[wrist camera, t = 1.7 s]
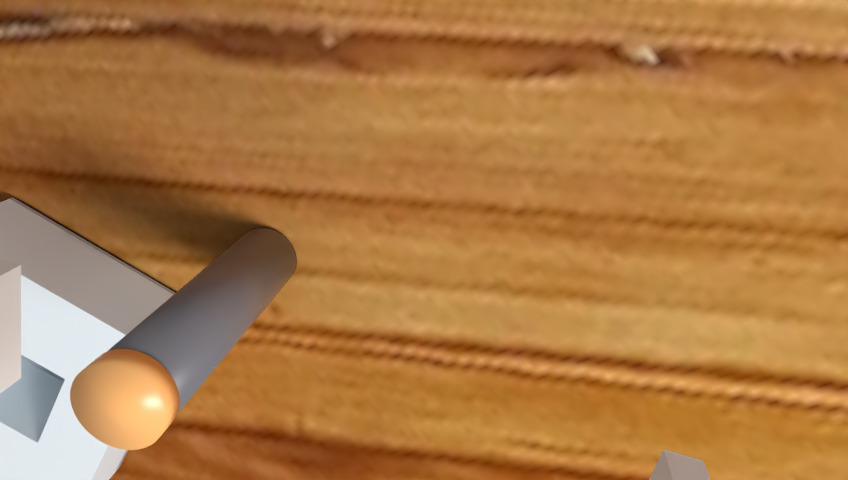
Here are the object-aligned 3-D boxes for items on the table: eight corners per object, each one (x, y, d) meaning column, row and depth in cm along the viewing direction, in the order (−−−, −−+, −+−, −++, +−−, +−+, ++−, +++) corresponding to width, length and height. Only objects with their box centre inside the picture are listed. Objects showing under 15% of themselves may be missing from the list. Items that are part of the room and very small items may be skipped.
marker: (226, 265, 36) (57, 417, 23) (251, 215, 35) (88, 345, 22) (280, 298, 36) (144, 466, 23) (308, 249, 35) (180, 398, 22)
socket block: (-46, 373, 42) (-118, 421, 37) (12, 197, 36) (-62, 226, 32) (119, 467, 42) (69, 525, 38) (199, 307, 37) (153, 351, 32)
